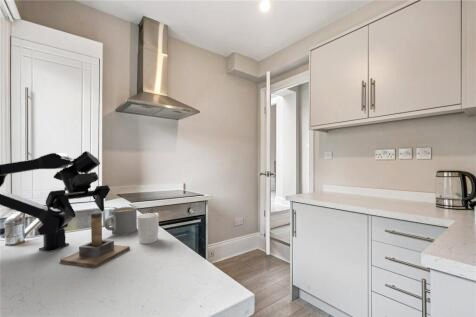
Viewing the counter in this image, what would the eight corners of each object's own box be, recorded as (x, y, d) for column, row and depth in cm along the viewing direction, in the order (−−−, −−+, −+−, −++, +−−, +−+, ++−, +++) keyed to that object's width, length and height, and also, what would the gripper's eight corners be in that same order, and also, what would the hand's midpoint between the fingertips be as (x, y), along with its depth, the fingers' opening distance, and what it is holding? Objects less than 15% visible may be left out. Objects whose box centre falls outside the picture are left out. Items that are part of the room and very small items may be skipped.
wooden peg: (89, 254, 74) (88, 214, 74) (97, 250, 77) (96, 212, 77) (96, 254, 73) (96, 215, 73) (104, 251, 76) (103, 213, 76)
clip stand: (59, 262, 70) (59, 250, 70) (98, 245, 84) (98, 235, 84) (95, 267, 66) (95, 254, 67) (129, 249, 80) (129, 238, 80)
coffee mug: (131, 226, 108) (131, 205, 108) (140, 231, 101) (140, 208, 101) (100, 233, 98) (99, 210, 98) (107, 239, 91) (107, 214, 91)
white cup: (151, 245, 84) (151, 218, 84) (133, 243, 85) (132, 217, 85) (162, 237, 92) (162, 213, 92) (145, 236, 93) (145, 212, 93)
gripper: (48, 166, 72) (65, 203, 67) (106, 164, 88) (124, 194, 83) (38, 189, 76) (54, 226, 71) (96, 183, 92) (112, 213, 87)
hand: (89, 213), depth 78 cm, fingers open, 9 cm apart
